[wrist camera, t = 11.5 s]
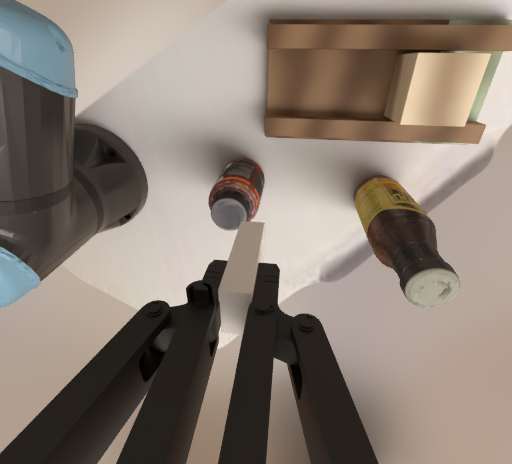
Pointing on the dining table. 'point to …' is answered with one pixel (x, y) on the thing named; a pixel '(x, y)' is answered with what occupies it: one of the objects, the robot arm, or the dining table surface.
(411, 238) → the sauce bottle
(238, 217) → the supplement bottle
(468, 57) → the block
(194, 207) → the dining table surface
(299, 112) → the walnut chute
